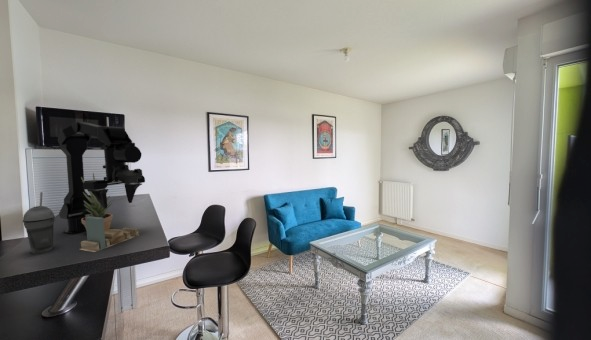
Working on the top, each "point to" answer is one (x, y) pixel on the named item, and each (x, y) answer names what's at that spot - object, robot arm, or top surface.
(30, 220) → the beverage cup
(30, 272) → the top surface
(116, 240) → the walnut offcut
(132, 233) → the birch rack
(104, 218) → the potted plant
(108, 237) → the pine offcut
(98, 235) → the teal rectangular block
